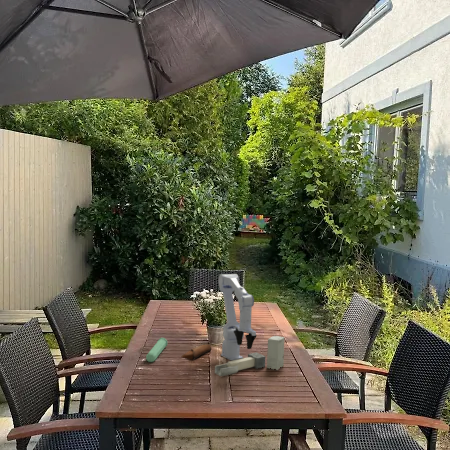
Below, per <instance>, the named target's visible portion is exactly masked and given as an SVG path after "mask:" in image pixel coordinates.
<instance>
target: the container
mask: <svg viewBox="0 0 450 450" xmlns="http://www.w3.org/2000/svg"><path fill="white" fill-rule="evenodd" d="M167 346H168V340H167V339H166V338H165V337H160V338H159V339H158V340H157V342H156V343H155V344H154V346H152V348H151V349H150V350H149V352H148V353H147V354H146V356H145V357H146V361H147V362H148V363H153V362H154V361H156V360H157V358H158V357H159V356H160V354H161V353H162V352H163V351H164V349H165V348H166V347H167Z"/></svg>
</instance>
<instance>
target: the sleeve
mask: <svg viewBox="0 0 450 450" xmlns="http://www.w3.org/2000/svg"><path fill="white" fill-rule="evenodd" d="M227 365H228V362H226V363H223V364H218V365H214V374H216V375H218V376H219V377H221V376H222V377H224V376H230V375H233V374H237V373H239V370H238V365H235V366H231V367H227Z"/></svg>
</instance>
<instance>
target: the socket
mask: <svg viewBox="0 0 450 450" xmlns="http://www.w3.org/2000/svg"><path fill="white" fill-rule="evenodd" d="M248 357H253V358H255V366H254V367H253V368H254V369H256V370H258V368H259V369H262V367H263V368H266V355H263V354H262V353H258V352H252V353H248V354H247V358H248Z"/></svg>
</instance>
